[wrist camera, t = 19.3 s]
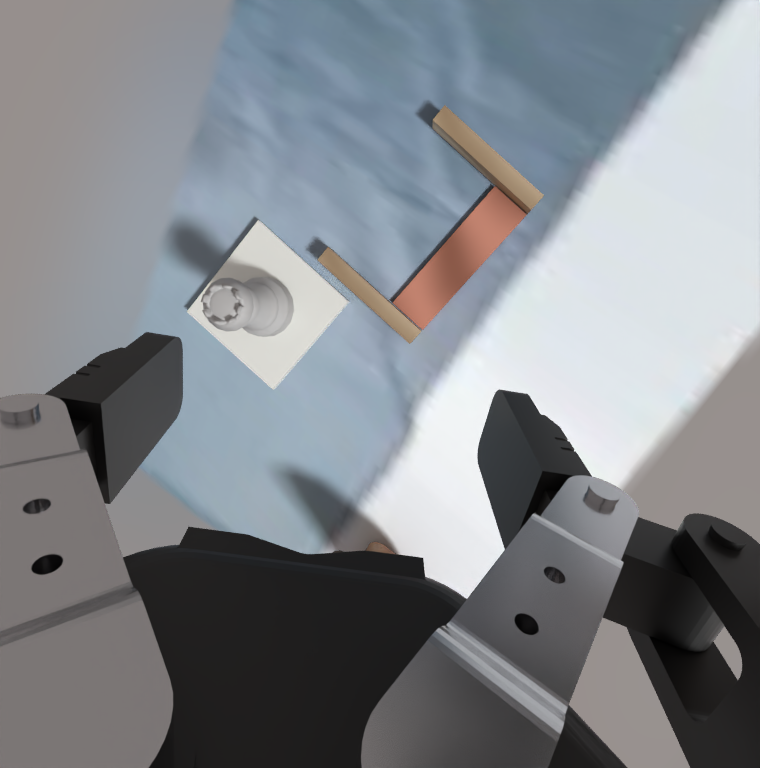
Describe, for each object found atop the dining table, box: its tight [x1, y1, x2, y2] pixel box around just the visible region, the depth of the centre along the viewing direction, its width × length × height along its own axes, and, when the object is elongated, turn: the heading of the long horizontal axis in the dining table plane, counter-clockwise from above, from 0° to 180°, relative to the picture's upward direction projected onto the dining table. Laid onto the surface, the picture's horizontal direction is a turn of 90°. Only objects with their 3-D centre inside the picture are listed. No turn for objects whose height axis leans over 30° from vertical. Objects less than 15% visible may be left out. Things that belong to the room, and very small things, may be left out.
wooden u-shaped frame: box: [318, 106, 544, 344], centre depth 34 cm, size 13×9×2 cm
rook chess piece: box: [201, 277, 294, 337], centre depth 32 cm, size 4×4×8 cm
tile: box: [187, 220, 349, 389], centre depth 36 cm, size 9×9×1 cm
